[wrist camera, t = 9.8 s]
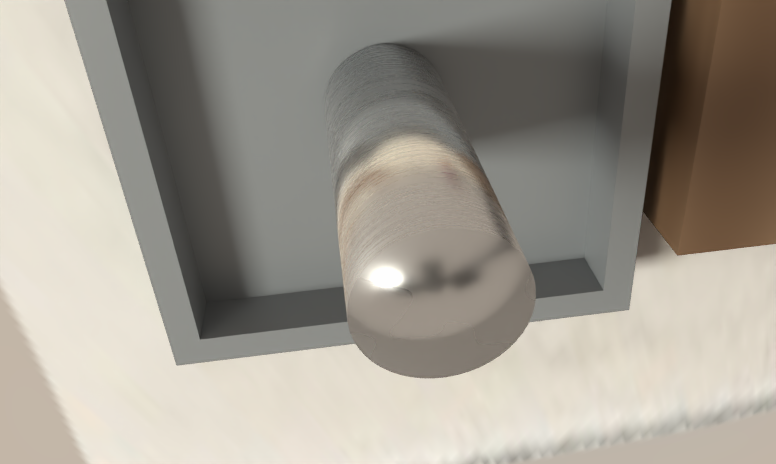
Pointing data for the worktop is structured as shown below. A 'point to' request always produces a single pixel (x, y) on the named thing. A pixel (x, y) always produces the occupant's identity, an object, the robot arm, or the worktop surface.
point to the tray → (311, 153)
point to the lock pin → (418, 222)
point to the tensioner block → (715, 128)
